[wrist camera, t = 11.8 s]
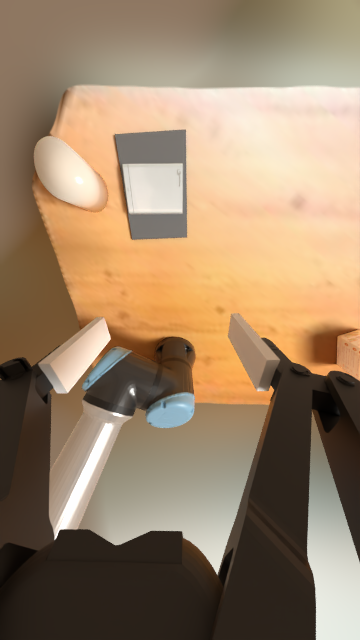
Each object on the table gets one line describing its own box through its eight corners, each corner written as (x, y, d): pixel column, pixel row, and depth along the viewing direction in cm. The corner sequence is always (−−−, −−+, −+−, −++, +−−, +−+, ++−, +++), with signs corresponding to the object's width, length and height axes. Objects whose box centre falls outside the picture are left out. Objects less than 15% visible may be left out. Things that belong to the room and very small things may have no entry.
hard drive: (183, 162, 28) (121, 162, 28) (182, 212, 32) (128, 213, 32) (183, 166, 29) (124, 167, 29) (182, 214, 33) (130, 214, 33)
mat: (186, 237, 36) (186, 237, 35) (132, 239, 36) (132, 239, 35) (185, 131, 27) (185, 129, 27) (116, 136, 28) (114, 134, 27)
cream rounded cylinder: (111, 211, 33) (89, 199, 25) (79, 213, 34) (47, 201, 26) (102, 165, 30) (73, 134, 22) (66, 167, 30) (24, 137, 22)
